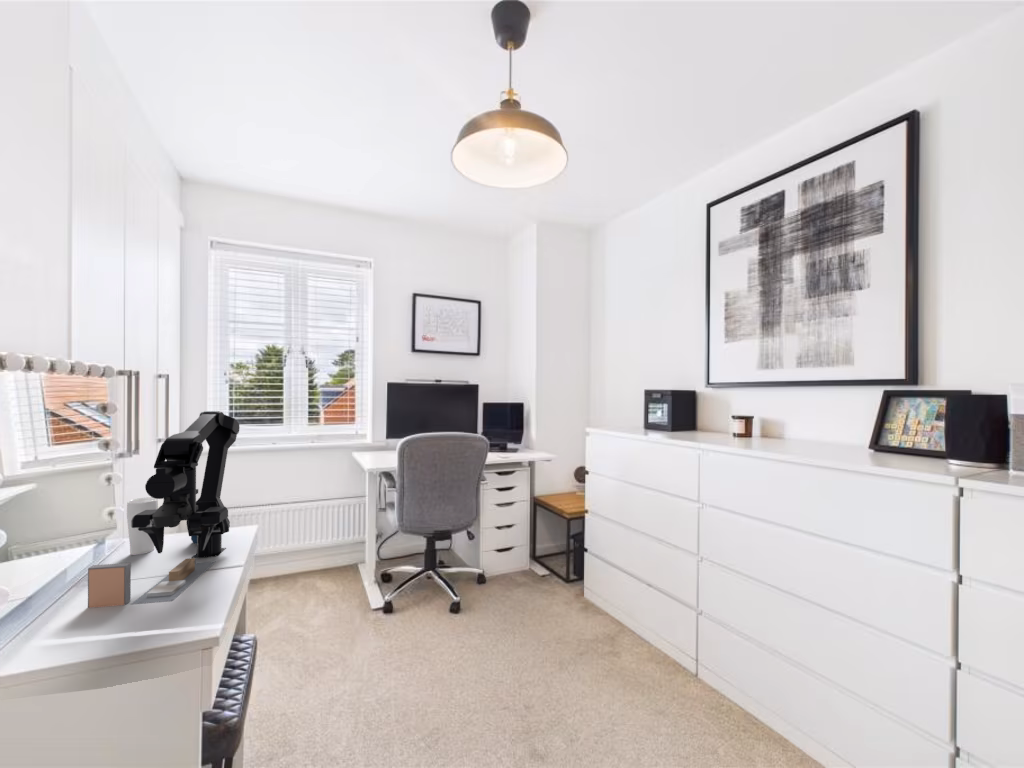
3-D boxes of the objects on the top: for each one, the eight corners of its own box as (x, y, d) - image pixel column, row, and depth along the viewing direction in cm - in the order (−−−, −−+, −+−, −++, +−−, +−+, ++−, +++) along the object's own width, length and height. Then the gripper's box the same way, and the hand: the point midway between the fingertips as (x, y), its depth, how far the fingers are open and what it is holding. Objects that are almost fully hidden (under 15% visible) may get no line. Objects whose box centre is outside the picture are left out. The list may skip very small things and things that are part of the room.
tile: (93, 606, 97) (93, 565, 97) (130, 603, 98) (130, 562, 98) (87, 610, 95) (87, 568, 95) (125, 607, 97) (125, 566, 97)
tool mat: (182, 565, 118) (182, 563, 118) (216, 563, 120) (216, 561, 120) (130, 607, 97) (130, 604, 97) (172, 603, 99) (172, 600, 99)
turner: (179, 571, 114) (179, 559, 114) (201, 569, 115) (201, 557, 115) (146, 597, 100) (146, 583, 100) (172, 595, 101) (172, 581, 101)
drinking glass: (144, 557, 124) (144, 503, 123) (120, 557, 124) (120, 503, 124) (163, 548, 130) (163, 497, 130) (140, 548, 130) (140, 496, 130)
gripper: (116, 498, 100) (115, 568, 100) (209, 494, 104) (209, 561, 104) (145, 486, 111) (145, 549, 111) (229, 483, 115) (228, 544, 115)
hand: (181, 551), depth 110 cm, fingers open, 9 cm apart
